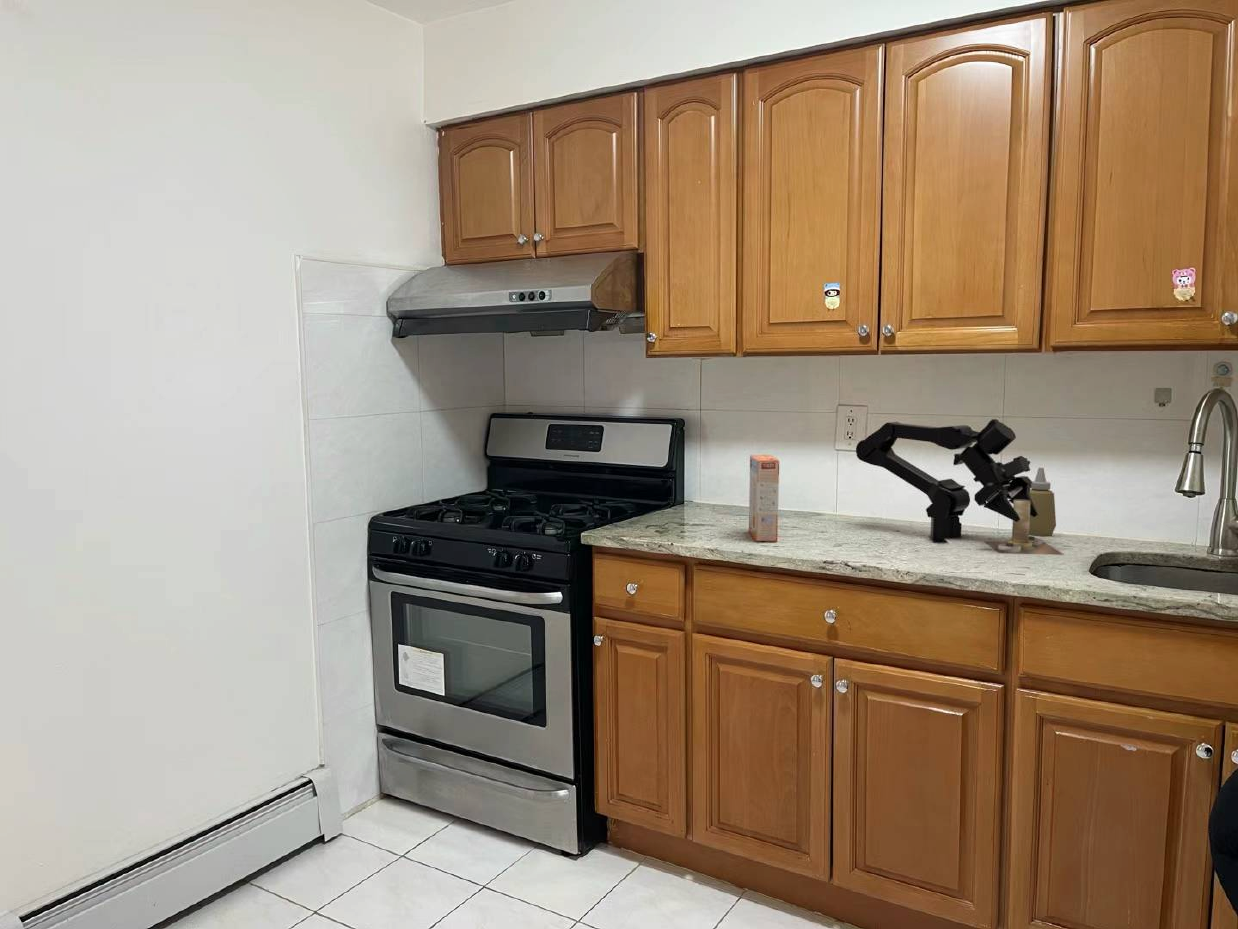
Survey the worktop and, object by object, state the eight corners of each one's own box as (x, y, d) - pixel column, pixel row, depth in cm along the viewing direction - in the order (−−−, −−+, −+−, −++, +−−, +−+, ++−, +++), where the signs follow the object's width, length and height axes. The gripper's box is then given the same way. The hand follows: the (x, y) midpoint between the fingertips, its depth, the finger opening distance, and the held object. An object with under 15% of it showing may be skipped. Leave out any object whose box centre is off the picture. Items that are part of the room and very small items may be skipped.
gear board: (998, 558, 203) (999, 545, 203) (983, 546, 217) (984, 534, 216) (1063, 559, 201) (1064, 546, 201) (1044, 547, 214) (1045, 535, 214)
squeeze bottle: (1035, 542, 221) (1039, 470, 219) (1013, 536, 229) (1016, 466, 226) (1062, 540, 223) (1066, 469, 221) (1039, 534, 231) (1042, 465, 229)
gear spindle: (1011, 548, 207) (1013, 502, 205) (1005, 544, 212) (1007, 498, 210) (1035, 549, 206) (1037, 502, 205) (1028, 544, 211) (1030, 498, 210)
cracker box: (779, 542, 223) (780, 459, 220) (755, 542, 223) (755, 459, 221) (770, 532, 237) (771, 453, 234) (748, 532, 237) (748, 454, 234)
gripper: (989, 448, 203) (1036, 501, 196) (1025, 442, 215) (1070, 492, 208) (955, 479, 210) (999, 531, 203) (992, 472, 222) (1035, 521, 215)
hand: (1027, 518), depth 207 cm, fingers open, 9 cm apart
